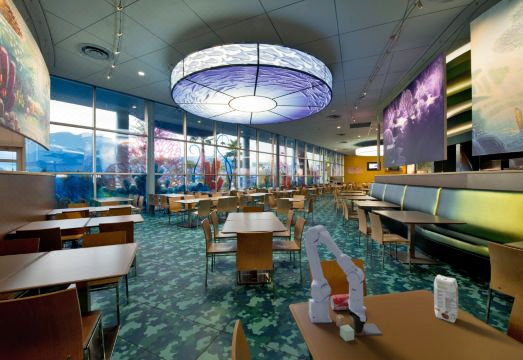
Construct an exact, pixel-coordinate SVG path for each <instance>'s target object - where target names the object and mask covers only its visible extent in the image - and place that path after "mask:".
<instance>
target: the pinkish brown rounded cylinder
mask: <svg viewBox="0 0 523 360" xmlns="http://www.w3.org/2000/svg"><path fill="white" fill-rule="evenodd" d="M343 325H345V316H344V315H343V314H340V313H339V314H336V315H335V326H336V327H337V328H339V329H340V326H343Z"/></svg>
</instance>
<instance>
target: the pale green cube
mask: <svg viewBox="0 0 523 360" xmlns="http://www.w3.org/2000/svg"><path fill="white" fill-rule="evenodd" d="M339 336H340V337H341V338H342V339H343V340H344V341H345V342H349V341H354V340H355V335H354V330H353V329H352V328H351V327H350V326H349V324H344V325H343V326H340V328H339Z"/></svg>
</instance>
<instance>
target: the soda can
mask: <svg viewBox="0 0 523 360" xmlns="http://www.w3.org/2000/svg"><path fill="white" fill-rule="evenodd" d="M348 300H349V293H343V294H334V295H331V296H330V295H329V306H330V307H331V310H334V311H347V307H349V304H348Z"/></svg>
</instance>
